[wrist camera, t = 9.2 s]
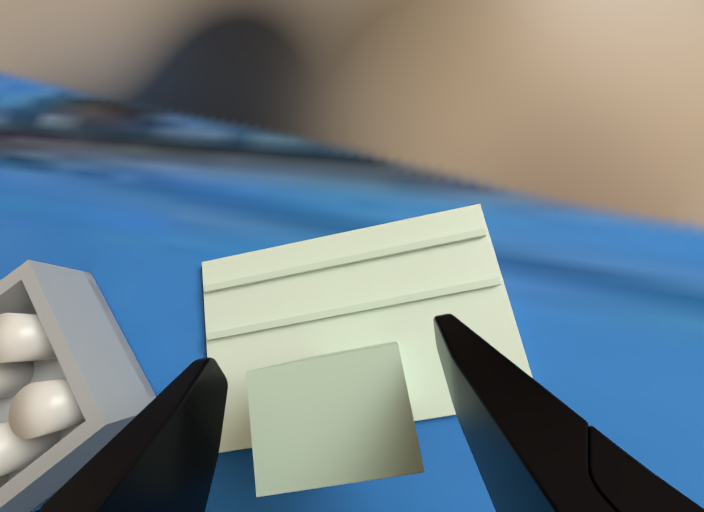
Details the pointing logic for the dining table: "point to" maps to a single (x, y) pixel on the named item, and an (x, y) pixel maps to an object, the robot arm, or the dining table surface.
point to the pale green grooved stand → (348, 344)
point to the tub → (59, 380)
